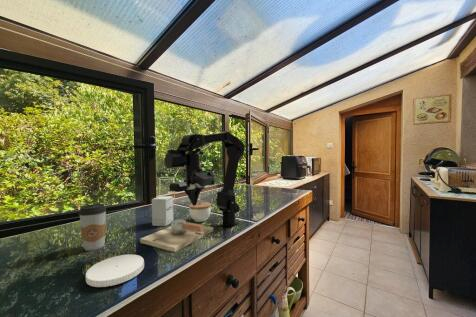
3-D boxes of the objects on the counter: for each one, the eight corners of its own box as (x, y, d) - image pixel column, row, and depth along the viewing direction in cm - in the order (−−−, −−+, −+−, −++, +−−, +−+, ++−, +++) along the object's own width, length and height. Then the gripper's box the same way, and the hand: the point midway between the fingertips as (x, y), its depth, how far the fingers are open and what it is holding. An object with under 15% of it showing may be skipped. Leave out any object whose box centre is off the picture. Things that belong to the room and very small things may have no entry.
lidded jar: (193, 216, 114) (193, 199, 114) (213, 217, 112) (213, 199, 112) (186, 223, 103) (185, 203, 103) (207, 223, 102) (207, 203, 101)
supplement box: (166, 226, 99) (165, 199, 99) (151, 225, 101) (150, 198, 100) (174, 221, 106) (173, 196, 106) (160, 220, 108) (159, 195, 108)
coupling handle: (167, 233, 85) (167, 222, 85) (178, 228, 91) (178, 218, 90) (196, 240, 78) (196, 228, 78) (207, 234, 83) (206, 223, 83)
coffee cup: (78, 254, 73) (76, 210, 72) (82, 245, 80) (80, 205, 80) (106, 248, 77) (105, 206, 76) (108, 240, 84) (107, 202, 84)
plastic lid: (110, 296, 51) (110, 285, 51) (73, 284, 56) (73, 274, 56) (154, 267, 64) (154, 258, 64) (121, 259, 69) (120, 251, 69)
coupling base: (181, 225, 100) (181, 221, 100) (214, 231, 91) (214, 227, 91) (140, 242, 81) (140, 238, 81) (176, 252, 72) (175, 247, 72)
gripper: (186, 168, 73) (189, 214, 73) (223, 164, 87) (225, 202, 88) (167, 168, 79) (169, 210, 80) (204, 164, 94) (206, 199, 95)
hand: (194, 205), depth 85 cm, fingers closed
